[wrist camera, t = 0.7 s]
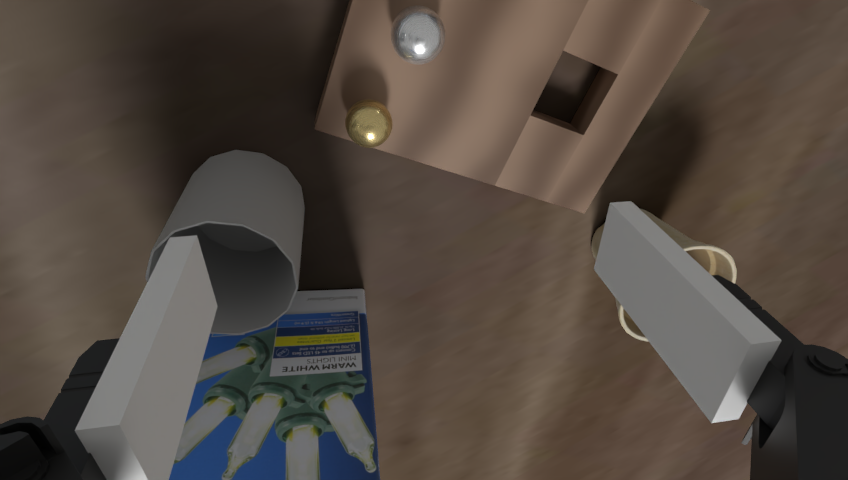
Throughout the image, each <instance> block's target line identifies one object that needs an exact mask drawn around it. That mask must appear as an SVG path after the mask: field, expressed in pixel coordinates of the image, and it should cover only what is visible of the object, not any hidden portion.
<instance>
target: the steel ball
mask: <svg viewBox="0 0 848 480" xmlns="http://www.w3.org/2000/svg"><path fill="white" fill-rule="evenodd" d="M391 42H392V45H393V48H394V50H395V52H396V53H397V54H398V55H399V57H400V58H402V59H403V60H404V61H406V62H408V63H411V64H416V65H420V64H425V63H428V62H430V61H432V60H433V59H435V58H436V57H437V56H438V55H439V53H440V52H441V50H442V48H443V46H444V42H445V28H444V24H443V22H442V20H441V18H440V17H439V16H438V14H437V13H436V12H435V11H433V10H432V9H430V8H428V7H425V6H420V5H416V6H411V7H408V8H406V9H404V10H403V11H401V12H400V13H399V14H398V15H397V17H396V18H395V20H394V22H393V24H392V28H391Z"/></svg>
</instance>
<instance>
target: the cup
mask: <svg viewBox="0 0 848 480" xmlns="http://www.w3.org/2000/svg"><path fill="white" fill-rule="evenodd" d="M304 213H305V206H304V199H303V193H302V187H301V185H300V184H299V183H298V181H297V180H296V179H295V177H294V176H293V174H292V173H291V172H290V170H289V169H288V168H287V167H286V166H285V165H283V164H281V163H279V162H278V161H276V160H274V159H272V158H271V157H269V156H267V155H265V154H264V153H257V152H249V151H242V150H233V151H229V152H226V153H222V154H219V155H216V156H212V157H210V158H209V159H208V160H207V161H206V162H204V163H203V164H202V165H201V166H200V167H199V168H198V169H197V170H196V171H195V172H194V173H193V174H192V176H191V178H190V180H189V182H188V184H187V185H186V187H185V189H184V191H183V193H182V195H181V197H180V198H179V200H178V202H177V204H176V206H175V208H174V210H173V212H172V213H171V215H170V217H169V219H168V221H167V223H166V225H165V226H164V228H163V230H162V232H161V234H160V236H159V238H158V239H157V241H156V243H155V245H154V247H153V249H152V251H151V255H150V259H149V263H148V268H147V272H146V276H145V277H146V280H147V282H148V280H149V278H150V276H151V274H152V272H153V270H154V268H155V266H156V264H157V262H158V260H159V258H160V256H161V254H162V252H163V250H164V248H165V246H166V244H167V242H168V240H169V238H170V237H182V236H195V235H197V237H198V241H199V244H200V247H201V251H202V254H203V258H204V261H205V265H206V268H207V272H208V275H209V279H210V282H211V285H212V289H213V292H214V296H215V299H216V303H217V306H218V307H217V310H216V314H215V317H214V321H213V325H212V328H211V332H210V334H227V335H242V334H245V333H249V332H252V331H256V330H259V329H262V328H266V327H269V326H270V325H271V324H272V323H274V322H275V321H276V320H277V319H279V318H280V317H281V316H282V315H284V314H285V313H286V312H287V311H289V309H290V307H291V304H292V302H293V299H294V297H295V294H296V292H297V289H298V285H299V273H300V261H301V249H302V237H303V225H304Z"/></svg>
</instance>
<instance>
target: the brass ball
mask: <svg viewBox="0 0 848 480" xmlns="http://www.w3.org/2000/svg"><path fill="white" fill-rule="evenodd" d="M392 126H393V122H392V117H391V114H390V112H389V110H388V109H387V108H386V107H385V106H384V105H383V104H382V103H380V102H378V101H376V100H372V99H365V100H361V101H358V102H356V103H355V104H354V105H353V106H352V107H351V108H350V109H349V111H348V112H347V115H346V119H345V127H346V131H347V133H348V135H349V137H350V138H351V139H352V141H354V142H355V143H356V144H358V145H360V146H362V147H367V148H372V147H377V146H379V145H381V144H383V143H384V142H385V141H386V140H387V139H388V138H389V136H390V134H391V131H392Z"/></svg>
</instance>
